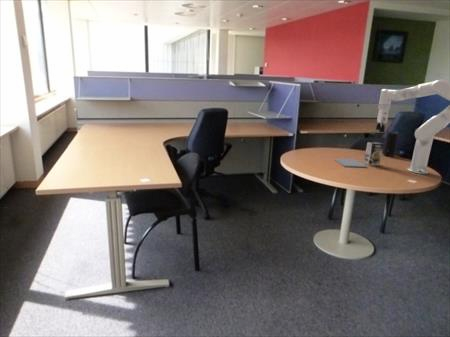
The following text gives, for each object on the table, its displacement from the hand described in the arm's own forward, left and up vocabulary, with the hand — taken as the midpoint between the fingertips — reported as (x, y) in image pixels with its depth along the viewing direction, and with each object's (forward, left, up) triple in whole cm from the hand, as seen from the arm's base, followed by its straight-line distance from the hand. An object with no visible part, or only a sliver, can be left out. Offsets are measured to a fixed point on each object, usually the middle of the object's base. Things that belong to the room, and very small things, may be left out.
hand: (379, 130), depth 249 cm
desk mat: (-6, +21, -24) cm, 32 cm away
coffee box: (-6, +5, -24) cm, 25 cm away
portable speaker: (+25, -23, -24) cm, 42 cm away
